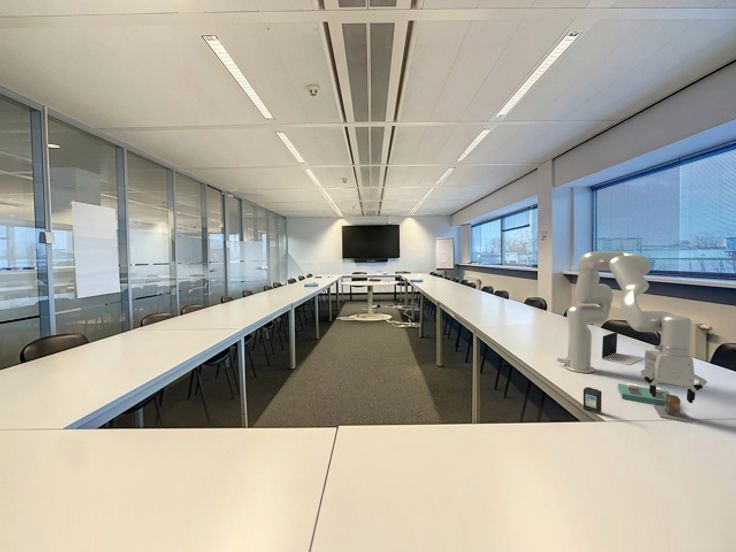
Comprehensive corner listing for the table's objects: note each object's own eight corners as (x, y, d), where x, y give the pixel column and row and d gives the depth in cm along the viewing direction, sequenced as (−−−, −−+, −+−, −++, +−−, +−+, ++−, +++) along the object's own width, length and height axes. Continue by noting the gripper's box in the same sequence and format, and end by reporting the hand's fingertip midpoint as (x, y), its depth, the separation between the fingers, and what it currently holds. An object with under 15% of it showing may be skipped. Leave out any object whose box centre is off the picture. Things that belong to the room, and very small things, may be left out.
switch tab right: (651, 391, 130) (651, 388, 130) (649, 389, 132) (649, 386, 132) (660, 392, 129) (661, 389, 129) (659, 390, 131) (659, 387, 131)
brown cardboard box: (668, 415, 114) (668, 398, 114) (664, 410, 118) (665, 394, 118) (679, 417, 113) (680, 400, 113) (676, 412, 116) (676, 395, 116)
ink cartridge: (583, 409, 120) (583, 387, 120) (586, 407, 121) (586, 386, 121) (598, 414, 116) (598, 392, 116) (601, 412, 117) (601, 390, 117)
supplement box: (660, 377, 151) (662, 350, 150) (674, 383, 144) (675, 355, 143) (643, 377, 152) (644, 349, 151) (655, 383, 144) (657, 354, 144)
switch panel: (622, 398, 129) (622, 393, 128) (617, 388, 139) (617, 383, 139) (677, 408, 120) (677, 402, 120) (667, 396, 131) (668, 391, 131)
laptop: (629, 366, 168) (630, 341, 167) (601, 359, 178) (602, 336, 178) (642, 360, 178) (644, 336, 177) (615, 354, 188) (616, 331, 187)
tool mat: (660, 417, 114) (660, 416, 114) (653, 405, 122) (653, 404, 122) (691, 423, 110) (692, 421, 110) (682, 410, 118) (682, 409, 118)
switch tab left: (628, 387, 134) (628, 384, 134) (627, 385, 136) (627, 382, 136) (638, 389, 132) (638, 386, 132) (636, 387, 134) (636, 384, 134)
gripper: (644, 350, 116) (641, 397, 117) (713, 358, 107) (709, 409, 109) (640, 344, 122) (637, 389, 124) (704, 352, 114) (700, 400, 115)
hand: (671, 398), depth 116 cm, fingers open, 9 cm apart
